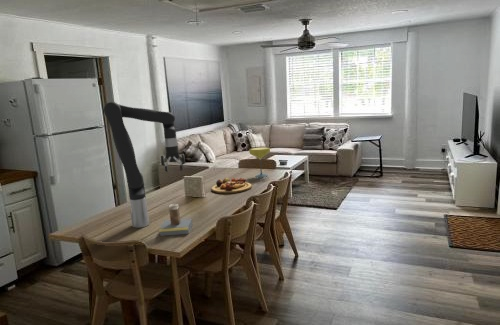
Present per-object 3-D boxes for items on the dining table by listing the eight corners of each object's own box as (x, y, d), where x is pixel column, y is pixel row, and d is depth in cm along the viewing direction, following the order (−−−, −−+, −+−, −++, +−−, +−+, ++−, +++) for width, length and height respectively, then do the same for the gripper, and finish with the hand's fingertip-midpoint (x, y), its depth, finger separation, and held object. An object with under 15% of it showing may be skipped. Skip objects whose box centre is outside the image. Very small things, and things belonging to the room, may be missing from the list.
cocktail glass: (247, 177, 333) (245, 149, 328) (258, 173, 347) (256, 146, 342) (264, 179, 322) (262, 150, 318) (275, 174, 337) (273, 146, 332)
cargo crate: (171, 225, 214) (168, 206, 212) (172, 222, 218) (170, 204, 216) (179, 224, 214) (176, 206, 212) (180, 221, 218) (178, 203, 216)
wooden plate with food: (243, 195, 279) (242, 184, 278) (204, 193, 291) (203, 183, 289) (257, 184, 309) (256, 174, 307) (221, 183, 320) (221, 174, 319)
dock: (159, 236, 209) (158, 229, 208) (165, 226, 224) (164, 220, 223) (188, 234, 209) (187, 227, 208) (192, 224, 223) (191, 218, 223)
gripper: (158, 147, 225) (161, 173, 228) (182, 145, 225) (185, 171, 228) (161, 145, 232) (164, 171, 235) (184, 143, 232) (187, 169, 235)
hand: (174, 171), depth 232 cm, fingers open, 8 cm apart
